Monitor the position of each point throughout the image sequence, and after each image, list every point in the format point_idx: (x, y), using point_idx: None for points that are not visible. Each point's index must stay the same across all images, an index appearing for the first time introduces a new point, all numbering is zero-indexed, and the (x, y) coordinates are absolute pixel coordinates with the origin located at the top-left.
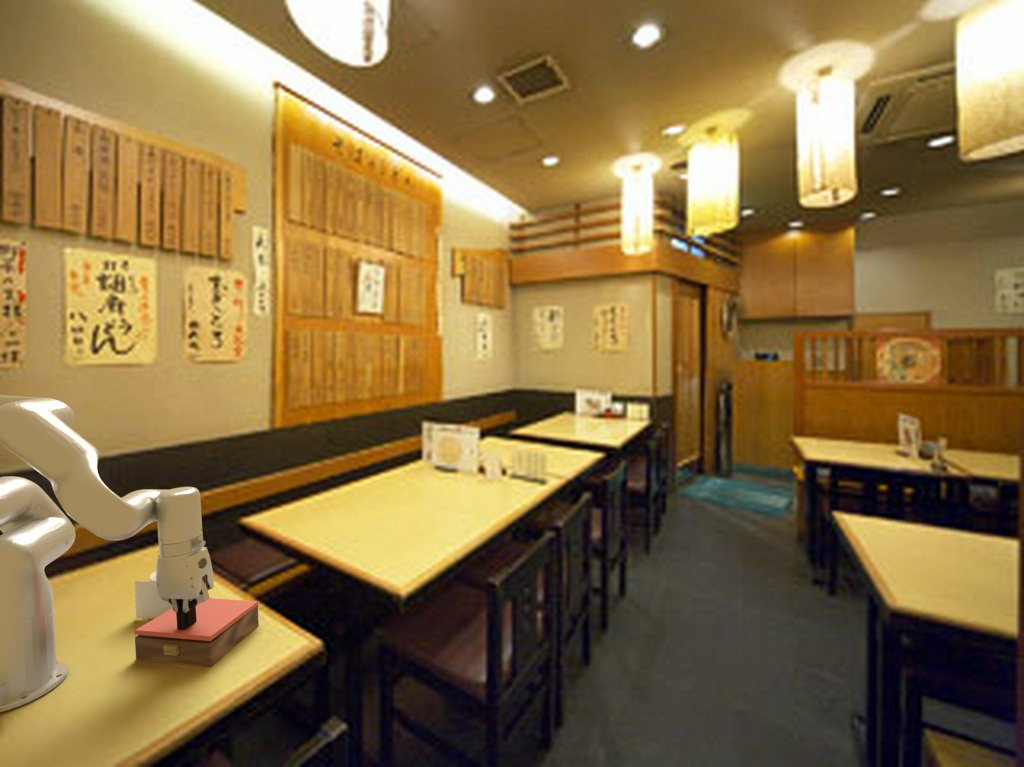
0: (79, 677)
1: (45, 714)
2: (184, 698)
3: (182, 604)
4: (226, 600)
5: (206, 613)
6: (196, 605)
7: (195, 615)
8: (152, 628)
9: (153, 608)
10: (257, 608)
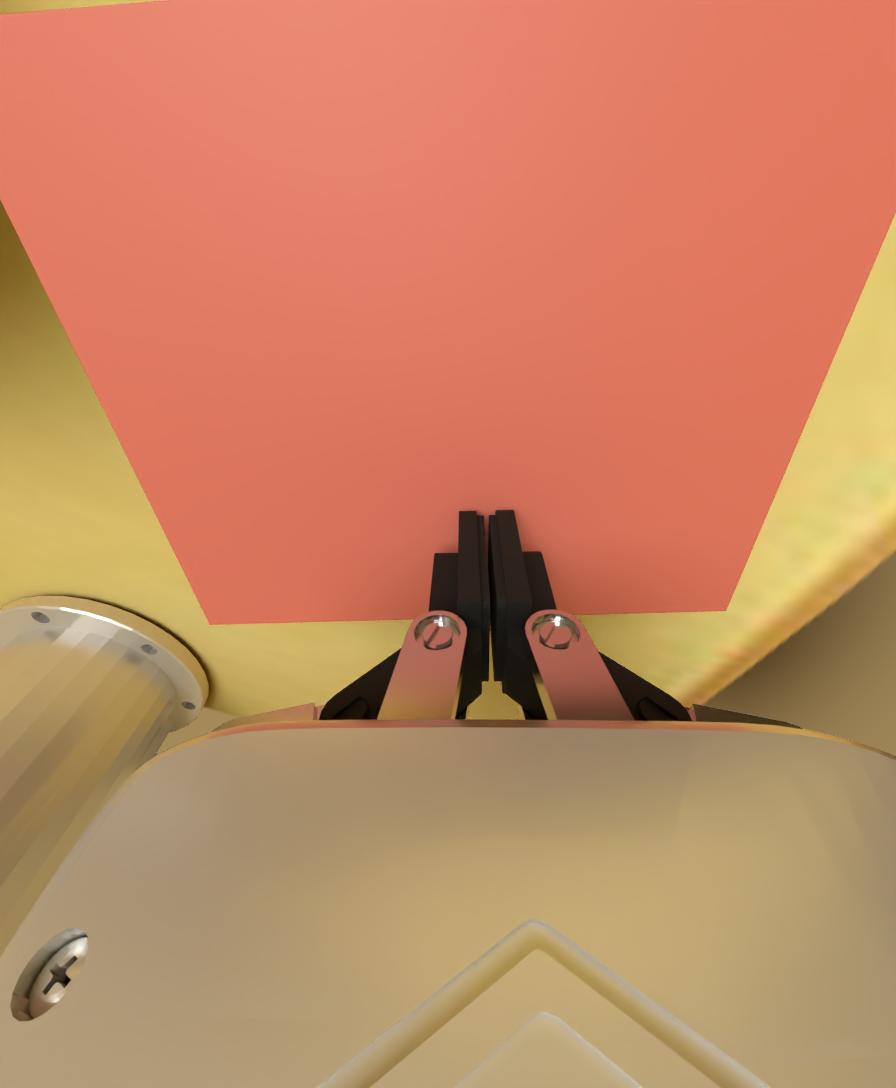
0: (198, 615)
1: (305, 701)
2: (647, 631)
3: (460, 688)
4: (494, 18)
5: (491, 384)
6: (571, 627)
7: (545, 571)
8: (290, 601)
9: None
10: None
